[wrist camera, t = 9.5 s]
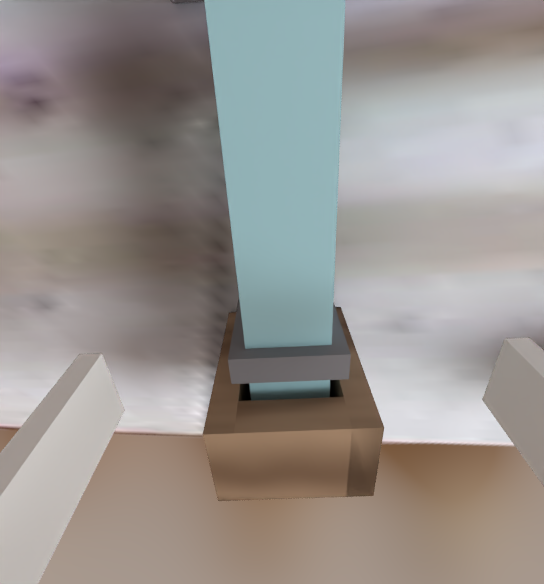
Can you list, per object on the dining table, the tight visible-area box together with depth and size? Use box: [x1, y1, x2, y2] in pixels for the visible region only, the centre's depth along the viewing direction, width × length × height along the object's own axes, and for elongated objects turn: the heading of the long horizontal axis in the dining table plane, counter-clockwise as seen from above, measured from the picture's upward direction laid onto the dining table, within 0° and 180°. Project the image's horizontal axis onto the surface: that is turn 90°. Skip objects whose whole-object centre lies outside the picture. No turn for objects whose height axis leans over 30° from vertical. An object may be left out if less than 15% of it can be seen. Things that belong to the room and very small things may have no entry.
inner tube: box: [204, 0, 351, 401], centre depth 15 cm, size 26×6×6 cm, turn 3°
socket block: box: [203, 307, 384, 501], centre depth 22 cm, size 6×9×11 cm, turn 93°
